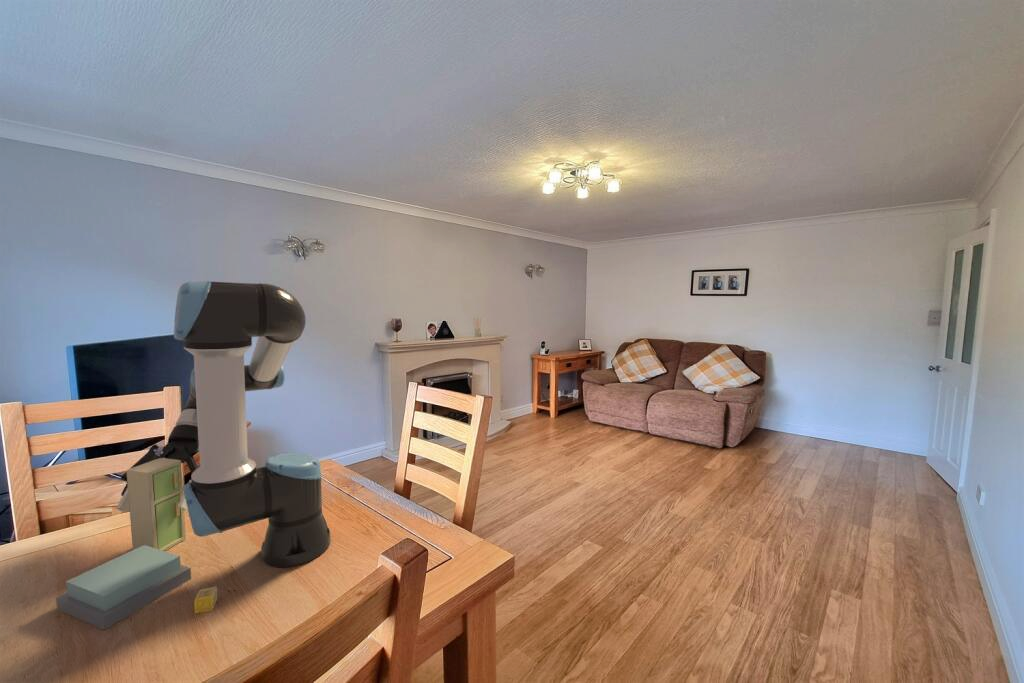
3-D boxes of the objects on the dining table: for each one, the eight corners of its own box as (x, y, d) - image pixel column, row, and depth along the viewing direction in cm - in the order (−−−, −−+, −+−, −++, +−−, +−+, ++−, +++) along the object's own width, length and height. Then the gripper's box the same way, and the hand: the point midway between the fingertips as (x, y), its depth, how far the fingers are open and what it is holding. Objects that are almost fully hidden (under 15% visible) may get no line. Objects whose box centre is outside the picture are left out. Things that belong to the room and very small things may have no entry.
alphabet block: (218, 599, 83) (217, 585, 83) (213, 610, 80) (212, 595, 80) (199, 603, 82) (199, 589, 82) (194, 614, 79) (193, 599, 79)
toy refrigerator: (155, 558, 96) (149, 472, 94) (131, 554, 98) (125, 469, 96) (189, 539, 104) (184, 459, 102) (166, 535, 105) (161, 457, 104)
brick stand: (191, 578, 89) (189, 554, 89) (104, 629, 75) (101, 601, 75) (146, 563, 94) (144, 541, 94) (57, 609, 80) (54, 582, 79)
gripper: (244, 435, 116) (214, 512, 102) (149, 436, 113) (106, 516, 100) (233, 422, 110) (199, 502, 96) (132, 423, 108) (84, 506, 94)
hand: (152, 509), depth 98 cm, fingers open, 13 cm apart
